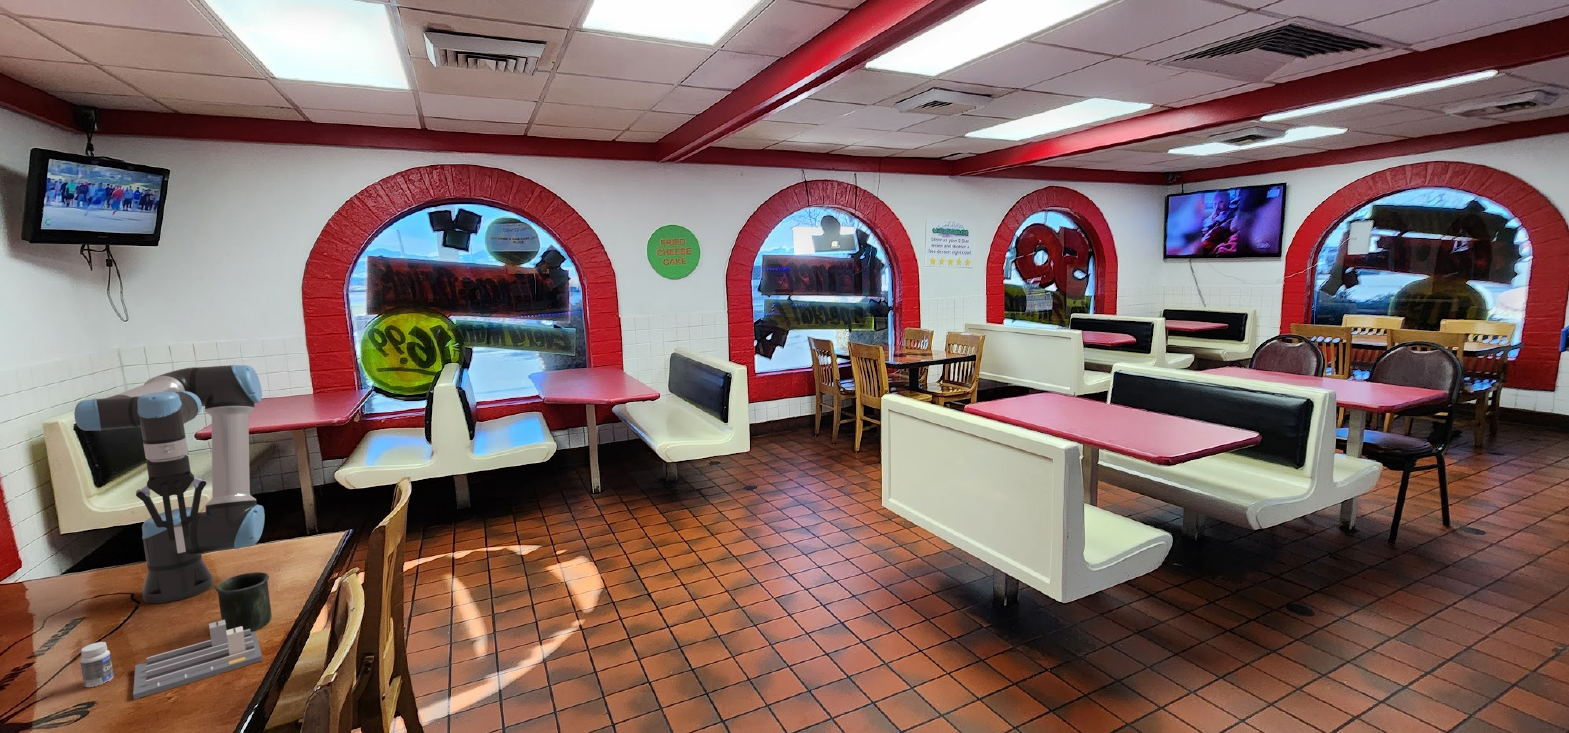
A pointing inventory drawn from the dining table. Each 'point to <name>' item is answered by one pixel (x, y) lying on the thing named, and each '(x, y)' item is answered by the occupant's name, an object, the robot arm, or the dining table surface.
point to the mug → (245, 601)
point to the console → (194, 662)
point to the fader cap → (236, 640)
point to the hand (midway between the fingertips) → (181, 550)
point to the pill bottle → (96, 664)
